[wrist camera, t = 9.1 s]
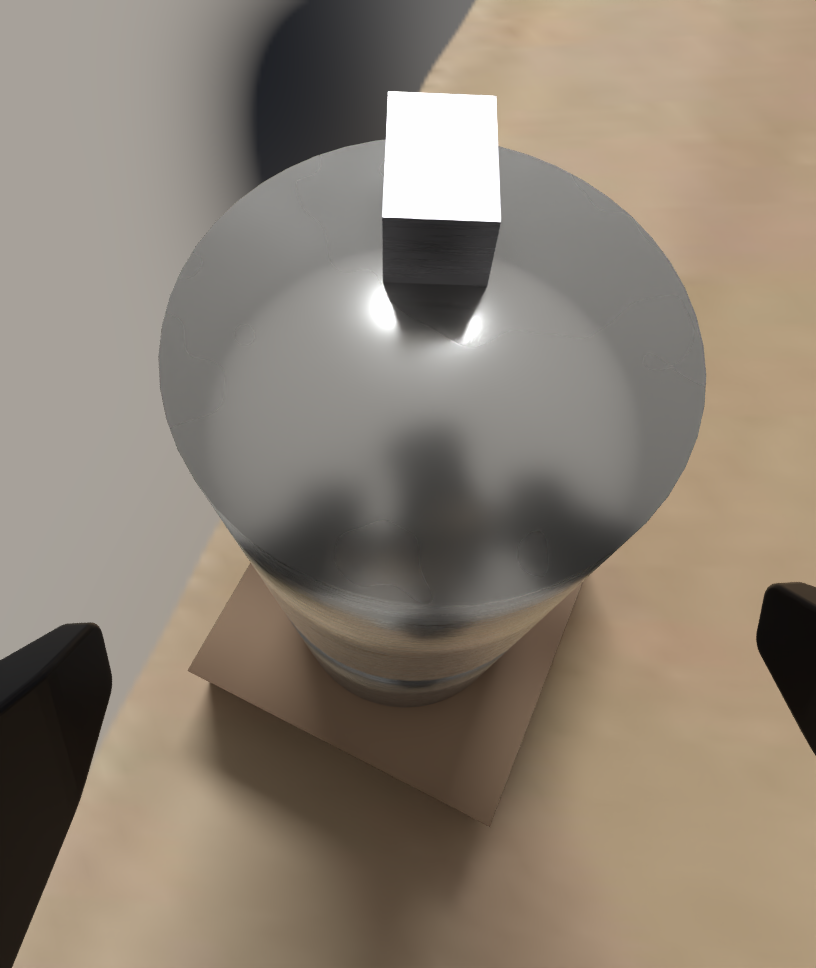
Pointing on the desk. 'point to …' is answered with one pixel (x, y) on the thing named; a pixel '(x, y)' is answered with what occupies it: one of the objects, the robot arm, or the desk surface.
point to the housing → (429, 392)
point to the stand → (378, 728)
